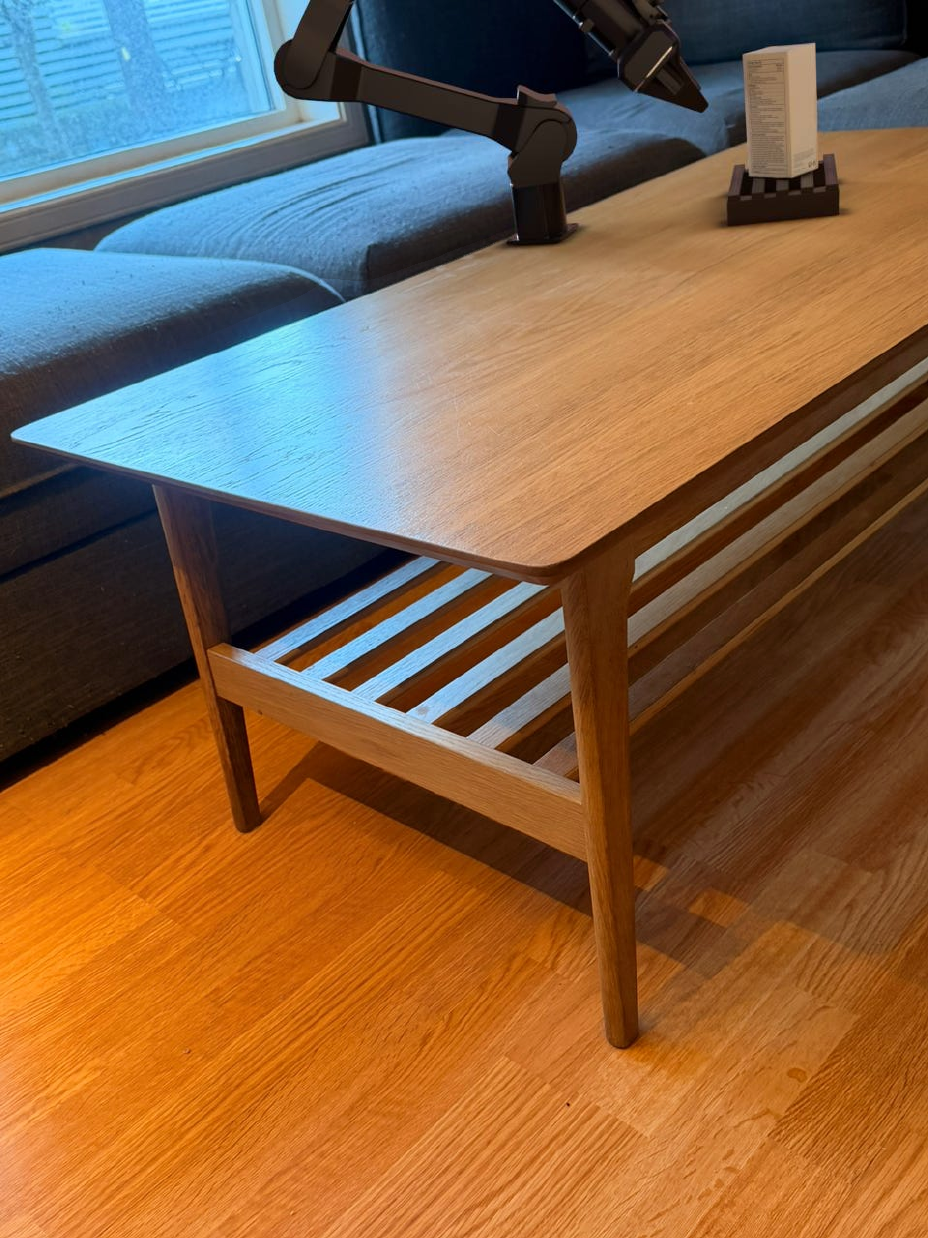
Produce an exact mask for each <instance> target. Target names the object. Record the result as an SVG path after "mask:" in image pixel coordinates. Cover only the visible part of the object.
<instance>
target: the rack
mask: <svg viewBox="0 0 928 1238" xmlns="http://www.w3.org/2000/svg"><path fill="white" fill-rule="evenodd" d="M838 177H839V176H838V171H837V165H836V157H835V153H832V152H831V153H825V154H822V160H818V168H817V169H815V170H813V171H811V172H808V173H805V174H802V175H799V176H796V177H793V178H775V177H755V176H749V168H746V163H741V164H734V166H733V169H732V174H731V179H730V183H729V188H728V192H727V195H726V197H727V198H726V225H727V227H732V226H742V225H751V224H761V223H770V222H779V221H790V220H791V221H792V220H801V219H808V218H810V219H811V218H818V217H828V216H837V215H838V216H839V215H840V197H841V196H840V194H841V193H840V189H841V188H840V186H839V185H840V184H839V178H838ZM823 186H825V187H823ZM814 187H820V188H814ZM795 189H796V191H795ZM797 189H800V190H797ZM789 190H794V191H789ZM768 192H769V193H768ZM770 192H775V193H770ZM767 193H768V194H767ZM742 195H750V196H742Z"/></svg>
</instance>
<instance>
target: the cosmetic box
mask: <svg viewBox="0 0 928 1238" xmlns="http://www.w3.org/2000/svg"><path fill="white" fill-rule="evenodd" d="M816 59H817V58H816V42H810V43H801V44H799V43H798V44H788V45H787V44H786V45H776V46H775V45H774V46H766V47H764V48H760V49H757V50H754V51H751V52H750V51H749V52H747V53H743V54H742V65H743V66H742V67H743V86H744V104H745V105H744V107H745V123H746V124H745V125H746V142H747V160H748V164H747V165H748V169H749V176H755V177H775V178H793V177H796V176H799V175H802V174H805V173H808V172H811V171H813V170H815V169H817V168H818V161H819V144H818V143H819V142H818V141H819V140H818V102H817V101H818V100H817V99H818V98H817V97H818V96H817V64H816V62H817V60H816Z"/></svg>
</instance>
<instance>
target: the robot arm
mask: <svg viewBox="0 0 928 1238" xmlns="http://www.w3.org/2000/svg"><path fill="white" fill-rule="evenodd" d="M356 1H357V0H309V2H308V4H307V5H306V8H305V10H304V12H303V14H302V16H301V18H300V20H299V23H297V27H296V29H295V31H294V35H293V37H292V38H289V39H288V40H287V41H285V42H284V43H282V44H280V47H279V48H278V49H277V51H276V52H275V56H274V59H273V73H274V78H275V80H276V82H277V84H278V86H279V87H280V89H281V91H282V92H283V93H284V94H286V95H287V96H288V97H290V98H292V99H295V100H300V101H311V102H322V103H357V104H358V103H359V104H364V105H368V106H372V107H375V108H379V109H383V110H385V111H389V112H394V113H396V114H397V113H398V114H401V115H405V116H408V117H412V118H416V119H418V120H423V121H427V122H430V123H433V124H436V125H437V124H438V125H441V126H444V127H449V128H452V129H456V130H459V131H463V132H466V133H469V134H470V133H471V134H474V135H477V136H482V137H485V138H487V139H490V140H491V141H493V142H495V143H496V144H498V145H500V146H502V147H504V148H505V149H507V150H509V152H510V153H509V154H508V156H507V158H506V173H507V176H508V178H509V180H510V182H509V187H510V195H511V202H512V203H511V204H512V210H513V219H514V225H515V233H514V234H512V235H511V236H509V237H508V238H507V239H505V245H506V246H513V245H530V244H532V245H533V244H549V243H559V242H561V241H563V240H564V239H566V238H567V237H568V236H570V235H571V234H572V233H573V232H575V231H576V230H577V229H579V226H580V225H579V223H578V222H572V223H569V222H568V219H567V218H568V217H567V208H566V201H565V191H564V181H563V180H564V179H563V174H562V173H561V171H562V166H563V163H564V162H566V161H568V159H570V157H571V156H572V155H573V153H574V152H575V149H576V147H577V144H578V137H579V136H578V135H579V134H578V129H577V124H576V121H575V120H574V117H573V115H572V113H571V111H570V110H569V109H568V108H567V106H566V105H564V104H562V103H561V102H559V101H558V100H557V97H556V94H555V93H549V94H543V93H539V92H537V91H534V90H532V89H529V88H528V87H526V86H523V85H522V84H520V85H518V86H517V94H516V95H517V96H516V98H511V97H509V98H508V97H507V98H506V97H505V98H504V97H502V98H501V97H493V96H489V95H487V94H483V93H479V92H475V91H472V90H468V89H466V88H465V89H464V88H461V87H457V86H454V85H450V84H447V83H443V82H439V81H435V80H433V79H428V78H424V77H422V76H418V75H414V74H410V73H408V72H403V71H400V70H396V69H393V68H388V67H385V66H382V65H378V64H374V63H371V62H369V61H368V60H365V59H364V58H362V57H360V56H358V55H357V54H355V53H353V52H352V51H351V50H348V49H346V48H345V47H343V46H340V45H339V43H340V41H341V38H342V36H343V33H344V31H345V28H346V25H347V23H348V20H349V17H350V15H351V12H352V10H353V7H354V4H355V2H356ZM552 1H553V2H554V3H555V4H557V5H558V7H559V8H561V9H562V10H563V11H564V12H565V14H567V15H568V16H569V17H570V18H571V19H572V20H573V21H574V22H575V23H576V24H577V25H578V29H579V30H580V31H581V32H582V33H583V34H585V35H586V36H587V35H589V36H590V38H592V39H593V40H594V41H595V42H596V43H597V44H598V45H599V46H600V47H601V48H603V49H604V50H605V52H606V53H608V57H609V59H610V60H612V62H614V63H615V64H616V65H617V75H618V80H619V81H620V82H622V83H623V84H624V85H625V86H626V87H627V88H628V90H630V91H631V92H634V91H635V92H636V94H639V95H641V94H642V95H643V96H644V95H645V96H648V97H652V98H654V99H657V100H660V101H662V102H663V101H664V102H665V103H670V104H672V105H675V106H679V107H681V108H684V109H687V110H690V111H693V112H696V113H698V114H704V112H705V111H706V110H707V108H708V107H709V105H710V104H709V102H708V101H707V99H706V98H705V96H704V95H703V93H702V91H701V90H702V87H701V85H700V84H699V82H698V80H697V79H696V78H695V76H694V75H693V73H692V72H691V70H690V69H689V67H688V66H687V64H686V63H685V61H684V60H683V57H681V40H680V38H679V35H677V33H676V32H675V31H674V29H673V22H672V20H671V19H670V18H669V16H668V14H667V13H666V12H665V11H664V10H663V9H662V7H661V6H660V5H661V4H663V3H665V2H666V1H667V0H552ZM668 18H669V19H668Z"/></svg>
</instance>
